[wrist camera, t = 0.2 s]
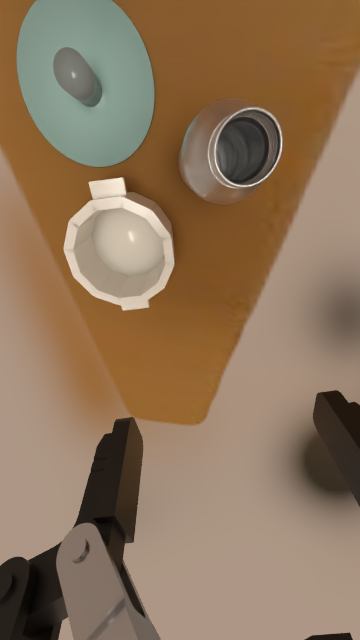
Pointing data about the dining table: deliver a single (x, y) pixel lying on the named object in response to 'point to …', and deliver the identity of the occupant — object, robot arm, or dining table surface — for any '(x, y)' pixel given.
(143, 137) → the lid
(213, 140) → the plastic bottle
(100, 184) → the pot
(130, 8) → the dining table surface
